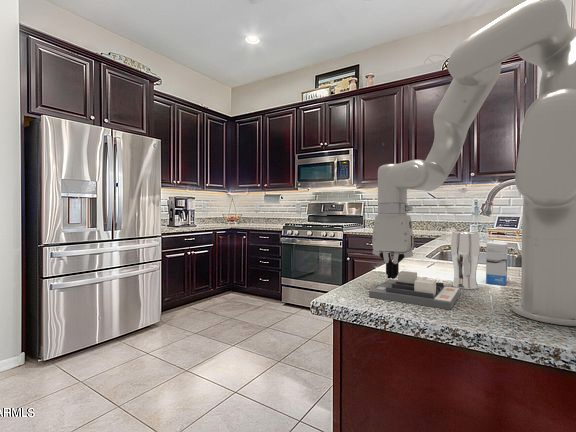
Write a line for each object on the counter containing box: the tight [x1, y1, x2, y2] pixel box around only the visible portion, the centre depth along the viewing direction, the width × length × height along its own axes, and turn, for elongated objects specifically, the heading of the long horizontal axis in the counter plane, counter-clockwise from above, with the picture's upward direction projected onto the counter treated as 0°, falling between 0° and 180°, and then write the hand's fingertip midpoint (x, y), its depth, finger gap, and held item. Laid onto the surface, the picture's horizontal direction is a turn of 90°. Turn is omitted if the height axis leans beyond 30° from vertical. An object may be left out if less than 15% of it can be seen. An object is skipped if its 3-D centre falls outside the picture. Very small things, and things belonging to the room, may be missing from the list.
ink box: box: [485, 240, 509, 286], centre depth 94 cm, size 8×5×12 cm, turn 143°
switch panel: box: [368, 278, 462, 311], centre depth 80 cm, size 18×16×2 cm
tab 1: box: [397, 270, 418, 283], centre depth 85 cm, size 4×4×3 cm
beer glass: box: [450, 231, 481, 290], centre depth 88 cm, size 7×7×15 cm
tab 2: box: [414, 278, 437, 295], centre depth 75 cm, size 4×4×3 cm
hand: (392, 277), depth 87 cm, fingers closed
